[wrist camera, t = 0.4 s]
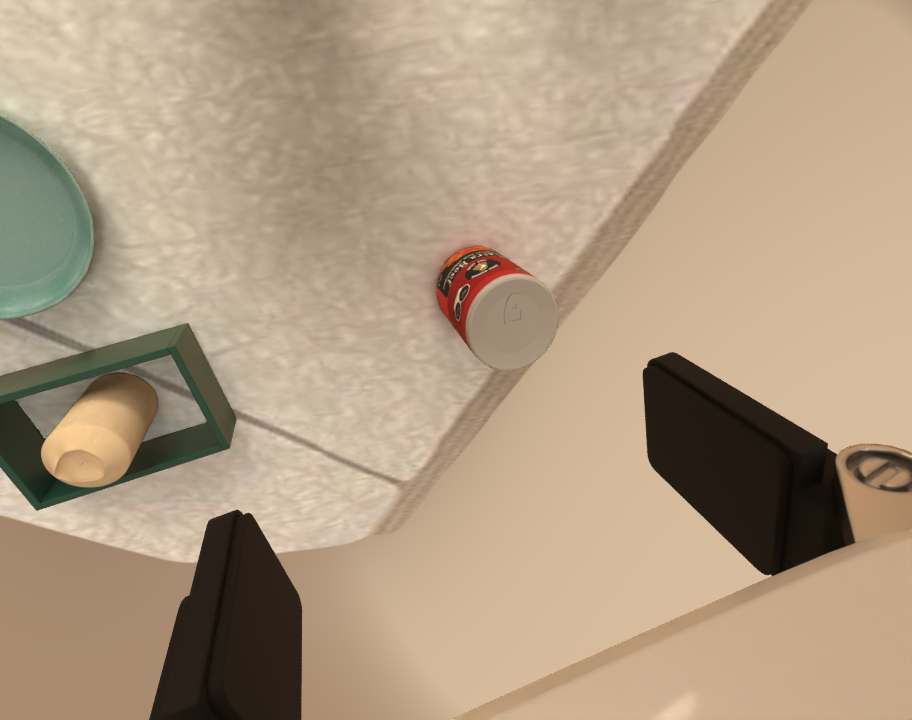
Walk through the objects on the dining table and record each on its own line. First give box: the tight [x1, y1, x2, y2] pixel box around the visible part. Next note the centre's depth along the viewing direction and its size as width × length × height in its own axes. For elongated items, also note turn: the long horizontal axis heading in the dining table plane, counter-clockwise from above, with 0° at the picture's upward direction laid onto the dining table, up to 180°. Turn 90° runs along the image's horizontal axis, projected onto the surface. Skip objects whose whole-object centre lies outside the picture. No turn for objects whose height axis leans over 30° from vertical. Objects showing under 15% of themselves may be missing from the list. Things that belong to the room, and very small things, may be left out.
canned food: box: [437, 247, 559, 371], centre depth 43 cm, size 8×8×11 cm
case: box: [0, 323, 236, 510], centre depth 42 cm, size 10×16×5 cm, turn 103°
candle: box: [41, 373, 158, 487], centre depth 39 cm, size 6×6×10 cm
